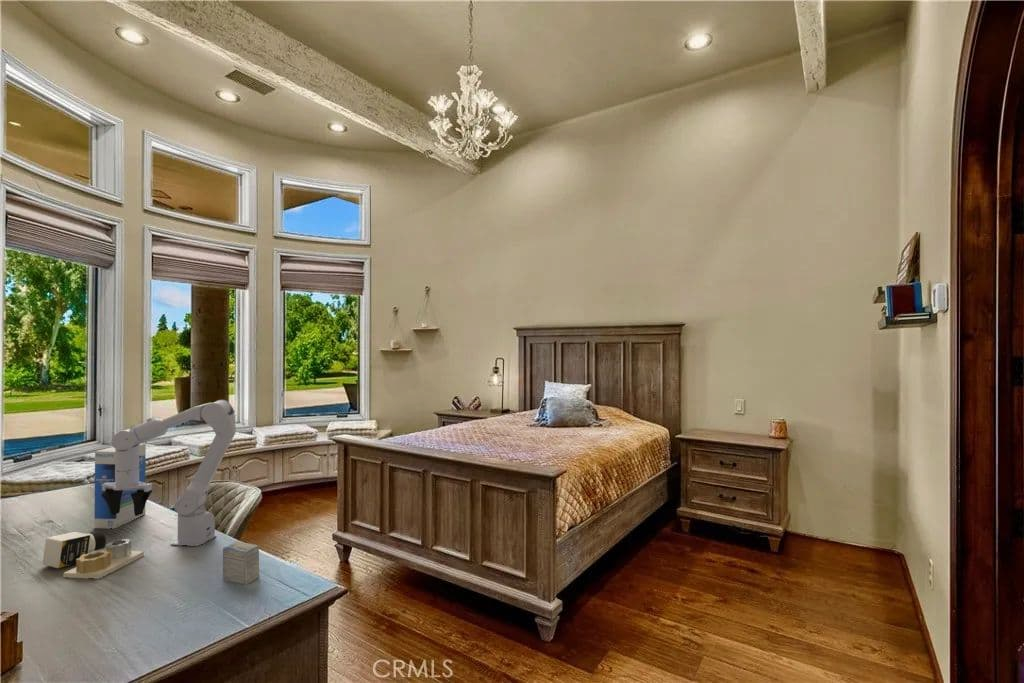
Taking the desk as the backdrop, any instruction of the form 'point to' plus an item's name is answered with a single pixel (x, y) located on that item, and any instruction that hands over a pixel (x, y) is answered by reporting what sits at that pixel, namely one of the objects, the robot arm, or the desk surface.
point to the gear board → (100, 563)
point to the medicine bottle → (71, 547)
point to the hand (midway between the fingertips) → (127, 514)
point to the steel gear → (119, 549)
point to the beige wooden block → (240, 562)
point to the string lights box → (107, 474)
